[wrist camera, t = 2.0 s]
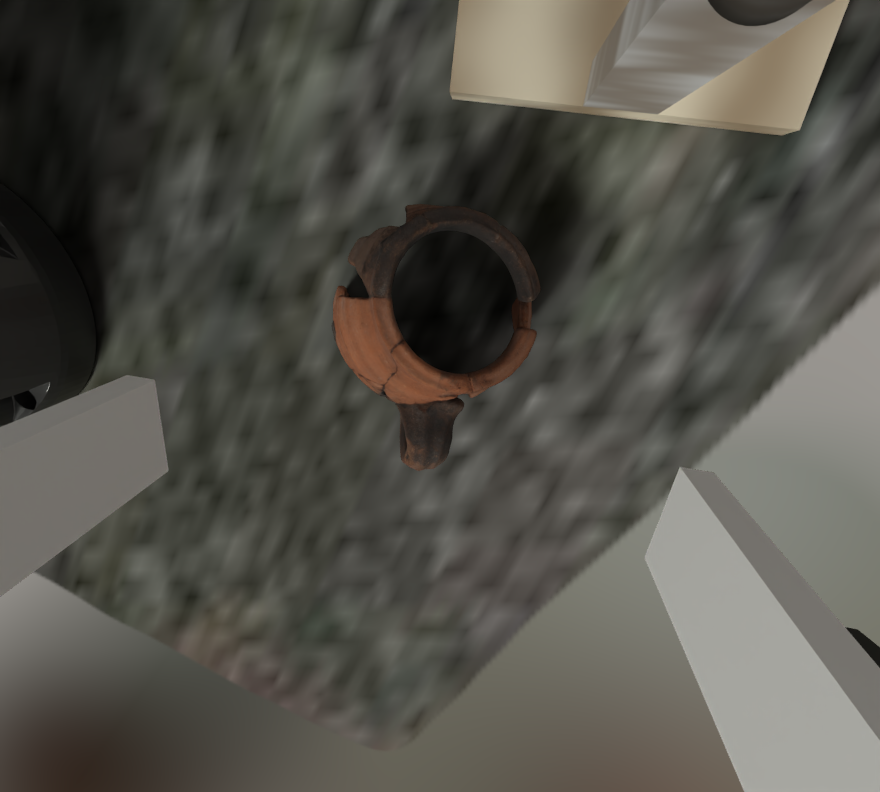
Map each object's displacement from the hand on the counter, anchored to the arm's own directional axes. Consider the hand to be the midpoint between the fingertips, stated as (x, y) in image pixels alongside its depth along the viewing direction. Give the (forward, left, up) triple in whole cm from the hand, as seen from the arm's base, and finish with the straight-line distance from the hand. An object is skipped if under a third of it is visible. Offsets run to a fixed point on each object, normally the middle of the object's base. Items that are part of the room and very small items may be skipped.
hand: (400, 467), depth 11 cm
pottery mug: (-1, 0, -14) cm, 14 cm away
